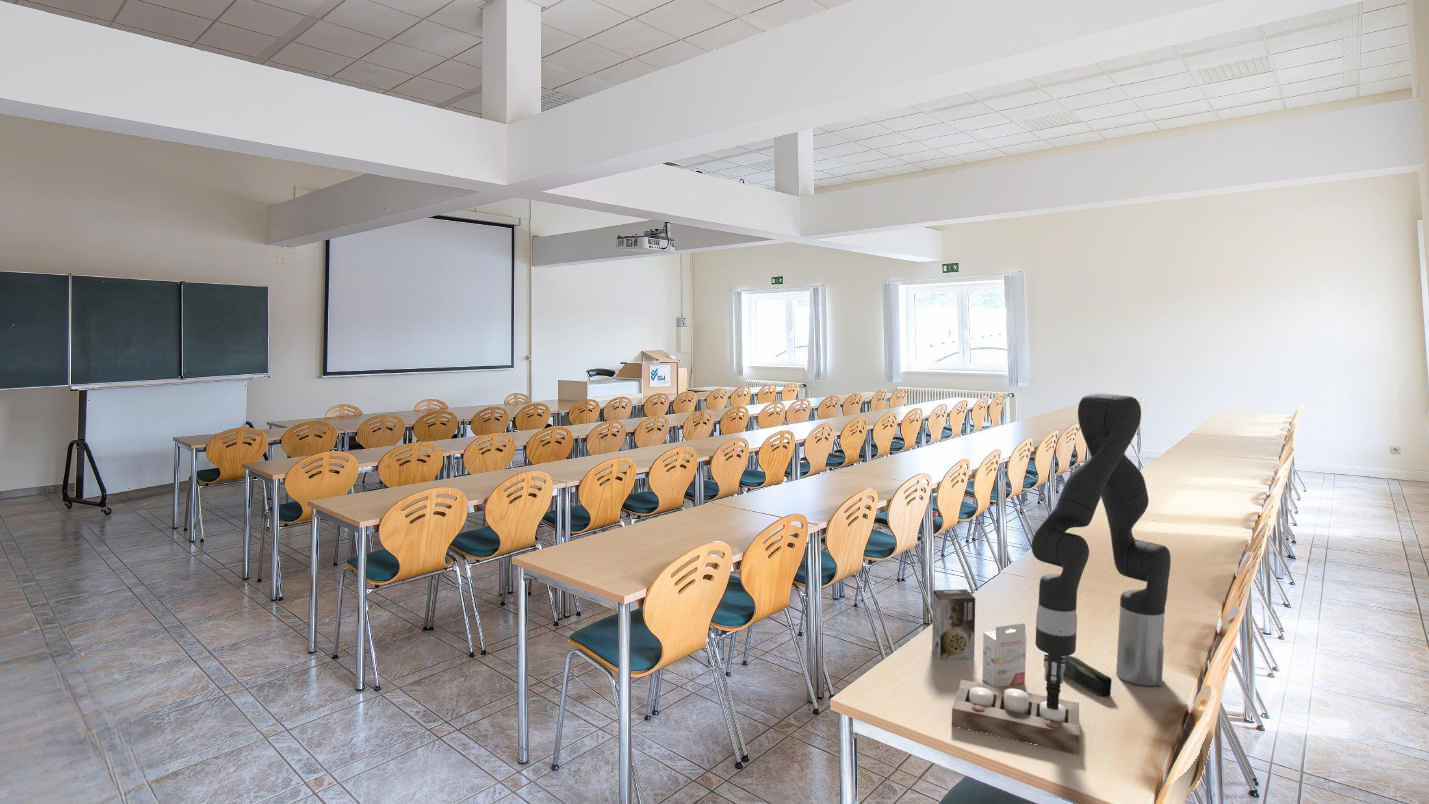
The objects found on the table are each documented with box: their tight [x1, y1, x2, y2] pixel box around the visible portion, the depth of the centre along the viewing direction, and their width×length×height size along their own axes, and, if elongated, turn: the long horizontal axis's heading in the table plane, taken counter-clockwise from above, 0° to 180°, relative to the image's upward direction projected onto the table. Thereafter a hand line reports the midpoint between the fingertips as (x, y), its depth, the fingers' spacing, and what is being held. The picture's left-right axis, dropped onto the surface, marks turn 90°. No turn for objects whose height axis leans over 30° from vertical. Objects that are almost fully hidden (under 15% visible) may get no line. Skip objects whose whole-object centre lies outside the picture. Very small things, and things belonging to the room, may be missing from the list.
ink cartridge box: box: [982, 622, 1027, 688], centre depth 174 cm, size 9×5×15 cm, turn 105°
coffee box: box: [931, 588, 976, 660], centre depth 189 cm, size 9×6×16 cm
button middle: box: [1004, 688, 1029, 715], centre depth 156 cm, size 5×5×4 cm
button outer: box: [969, 687, 993, 707], centre depth 159 cm, size 5×5×4 cm
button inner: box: [1040, 701, 1065, 722], centre depth 153 cm, size 5×5×4 cm
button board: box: [951, 679, 1080, 756], centre depth 156 cm, size 24×14×4 cm, turn 64°
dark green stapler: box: [1062, 655, 1112, 698], centre depth 174 cm, size 5×3×15 cm
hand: (1052, 707), depth 152 cm, fingers closed
